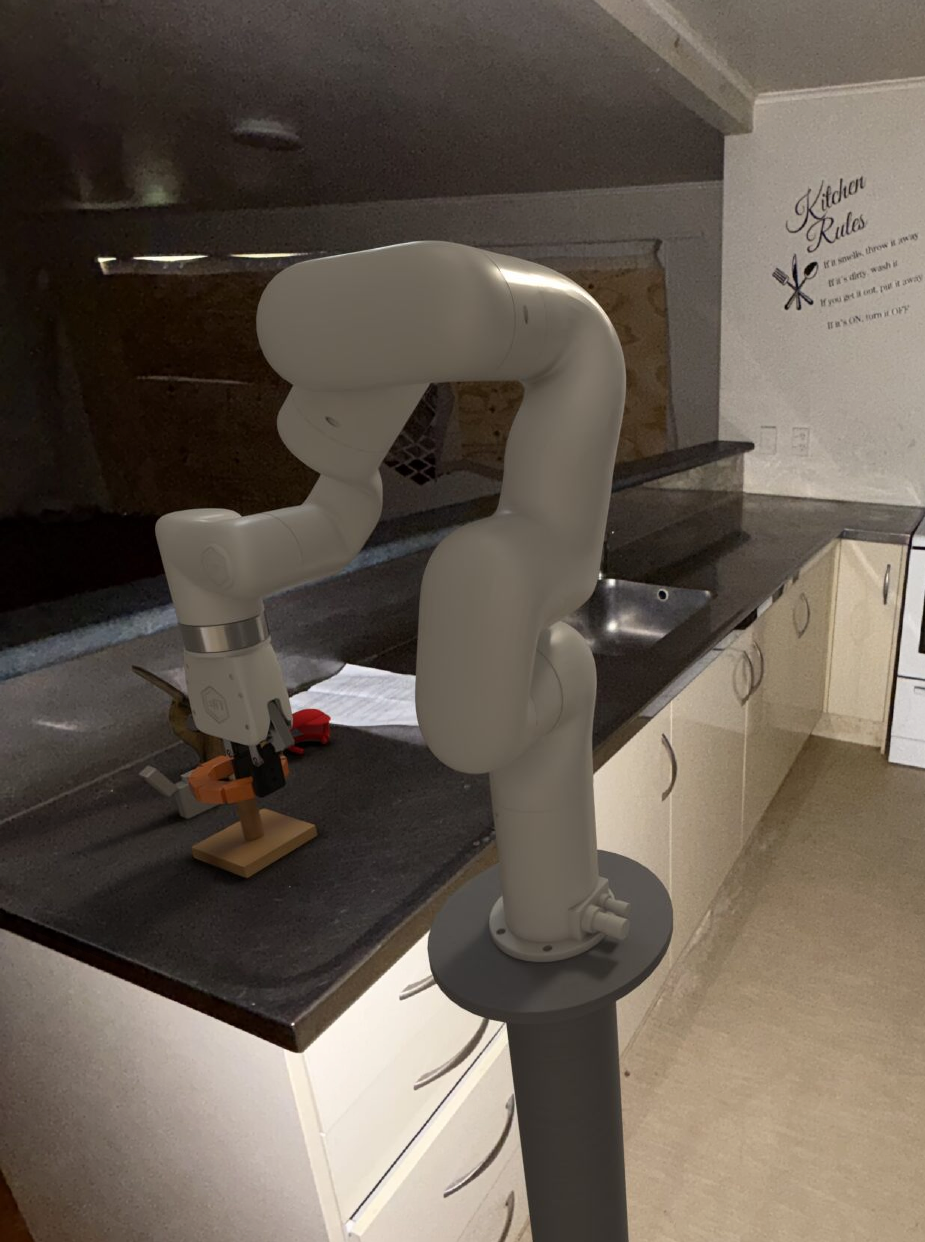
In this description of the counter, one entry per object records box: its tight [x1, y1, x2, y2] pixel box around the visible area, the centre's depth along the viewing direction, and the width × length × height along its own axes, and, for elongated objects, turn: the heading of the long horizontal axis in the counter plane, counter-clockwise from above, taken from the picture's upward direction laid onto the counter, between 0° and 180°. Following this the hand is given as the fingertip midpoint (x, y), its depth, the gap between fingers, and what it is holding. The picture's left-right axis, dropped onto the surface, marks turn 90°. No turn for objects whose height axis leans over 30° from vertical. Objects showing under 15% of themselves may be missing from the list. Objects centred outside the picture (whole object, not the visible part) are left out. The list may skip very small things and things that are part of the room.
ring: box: [188, 754, 290, 805], centre depth 84 cm, size 9×10×2 cm
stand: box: [190, 774, 318, 879], centre depth 86 cm, size 9×9×10 cm
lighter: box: [138, 765, 220, 819], centre depth 92 cm, size 7×2×8 cm, turn 153°
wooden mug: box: [131, 664, 269, 781], centre depth 101 cm, size 9×14×18 cm, turn 148°
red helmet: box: [287, 708, 332, 755], centre depth 110 cm, size 8×6×6 cm
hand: (262, 787), depth 83 cm, fingers closed on ring, 2 cm apart
